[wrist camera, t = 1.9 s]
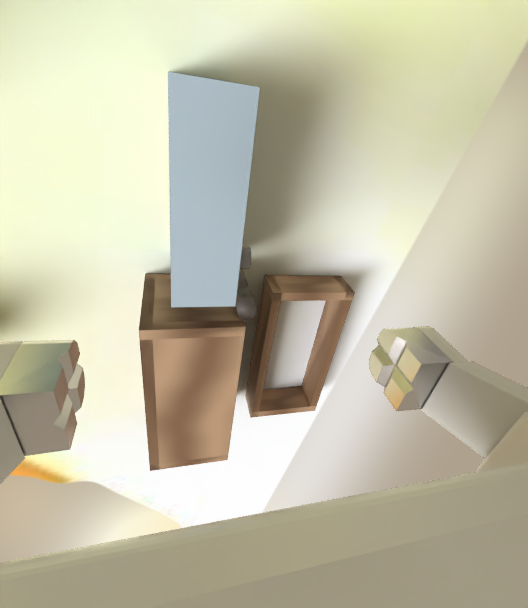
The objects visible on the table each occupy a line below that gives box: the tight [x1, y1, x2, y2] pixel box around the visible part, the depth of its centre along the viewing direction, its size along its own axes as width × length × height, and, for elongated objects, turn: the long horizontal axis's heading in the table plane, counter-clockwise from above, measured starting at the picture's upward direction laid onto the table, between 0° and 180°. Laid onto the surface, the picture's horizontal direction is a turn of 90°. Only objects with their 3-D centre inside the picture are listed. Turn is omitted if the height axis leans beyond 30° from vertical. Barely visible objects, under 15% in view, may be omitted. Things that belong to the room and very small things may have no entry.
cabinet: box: [139, 269, 355, 471], centre depth 31 cm, size 18×17×8 cm
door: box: [168, 72, 260, 307], centre depth 21 cm, size 5×12×8 cm, turn 172°
